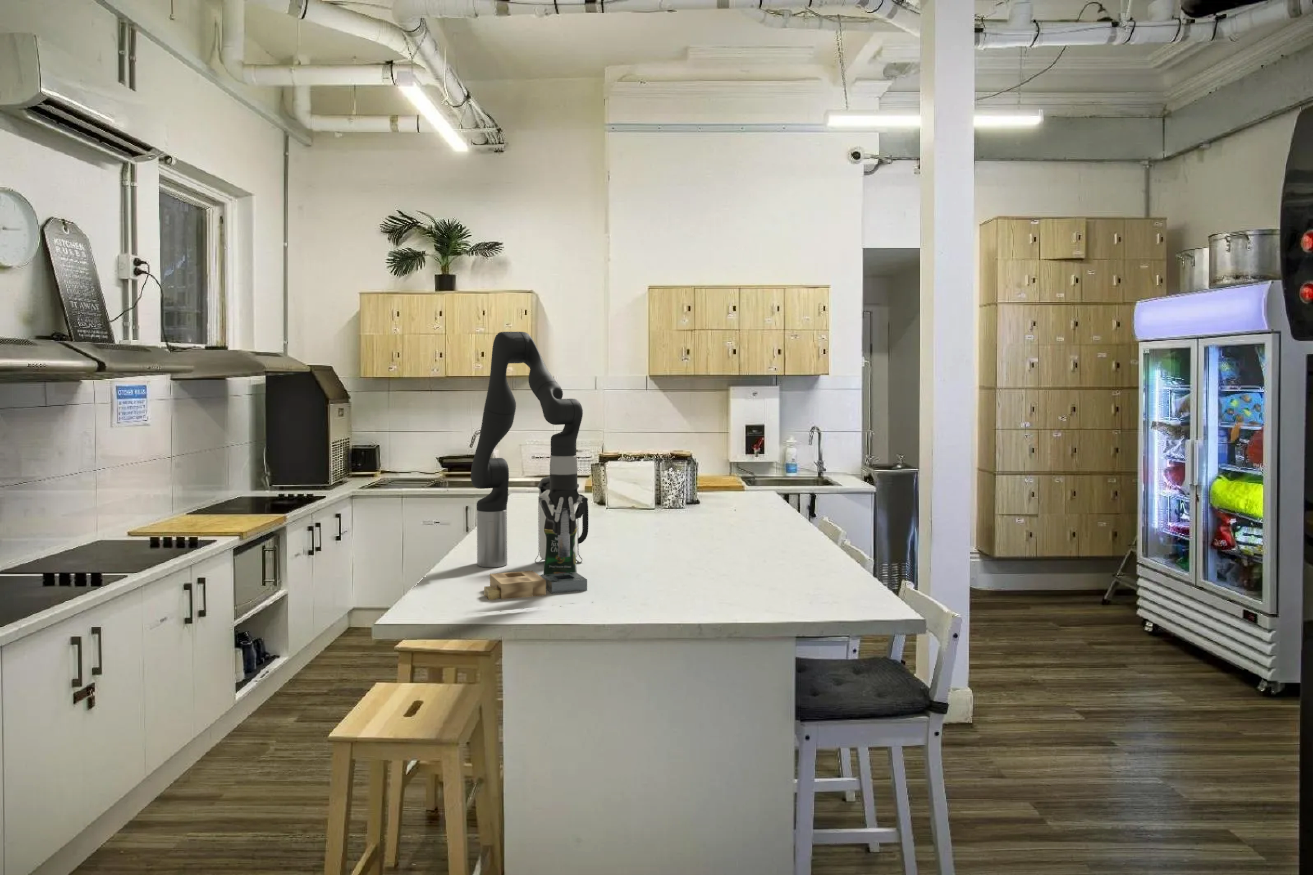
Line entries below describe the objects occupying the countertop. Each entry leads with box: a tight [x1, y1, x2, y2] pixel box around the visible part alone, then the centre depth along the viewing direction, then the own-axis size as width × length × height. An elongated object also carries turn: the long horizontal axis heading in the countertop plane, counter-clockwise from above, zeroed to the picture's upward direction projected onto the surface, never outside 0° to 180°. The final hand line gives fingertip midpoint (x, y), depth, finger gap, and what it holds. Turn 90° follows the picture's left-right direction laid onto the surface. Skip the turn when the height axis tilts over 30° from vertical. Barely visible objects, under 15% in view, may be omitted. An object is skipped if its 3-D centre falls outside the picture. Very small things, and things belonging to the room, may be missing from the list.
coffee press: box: [534, 475, 589, 564], centre depth 306 cm, size 17×16×30 cm
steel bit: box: [558, 508, 570, 557], centre depth 267 cm, size 3×3×13 cm
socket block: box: [489, 570, 547, 600], centre depth 264 cm, size 12×13×5 cm
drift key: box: [483, 585, 501, 601], centre depth 258 cm, size 5×8×3 cm, turn 113°
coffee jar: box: [543, 515, 578, 575], centre depth 284 cm, size 10×8×19 cm
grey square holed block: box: [541, 572, 588, 595], centre depth 268 cm, size 10×10×4 cm
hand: (563, 534), depth 267 cm, fingers closed on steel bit, 3 cm apart
